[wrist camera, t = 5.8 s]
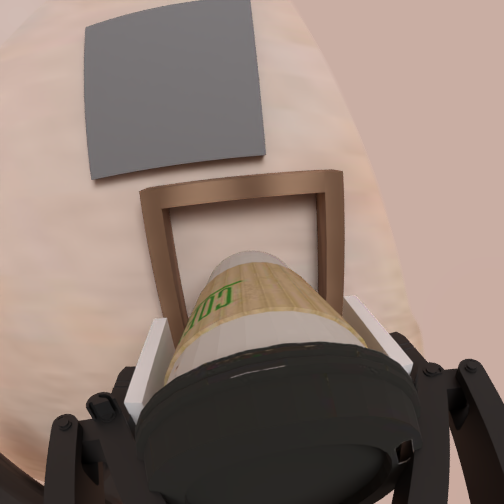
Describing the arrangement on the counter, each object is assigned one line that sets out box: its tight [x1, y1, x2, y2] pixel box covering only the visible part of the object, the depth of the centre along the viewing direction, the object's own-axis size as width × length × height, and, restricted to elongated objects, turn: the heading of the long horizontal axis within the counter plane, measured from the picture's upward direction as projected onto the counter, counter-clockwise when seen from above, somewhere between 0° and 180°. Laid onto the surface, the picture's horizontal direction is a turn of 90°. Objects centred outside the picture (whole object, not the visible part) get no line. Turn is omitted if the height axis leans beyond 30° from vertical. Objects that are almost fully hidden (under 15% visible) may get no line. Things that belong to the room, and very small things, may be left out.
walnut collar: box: [139, 170, 345, 350], centre depth 25 cm, size 15×15×2 cm
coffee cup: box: [135, 251, 423, 504], centre depth 14 cm, size 10×10×15 cm
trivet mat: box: [84, 0, 266, 180], centre depth 20 cm, size 14×14×1 cm
